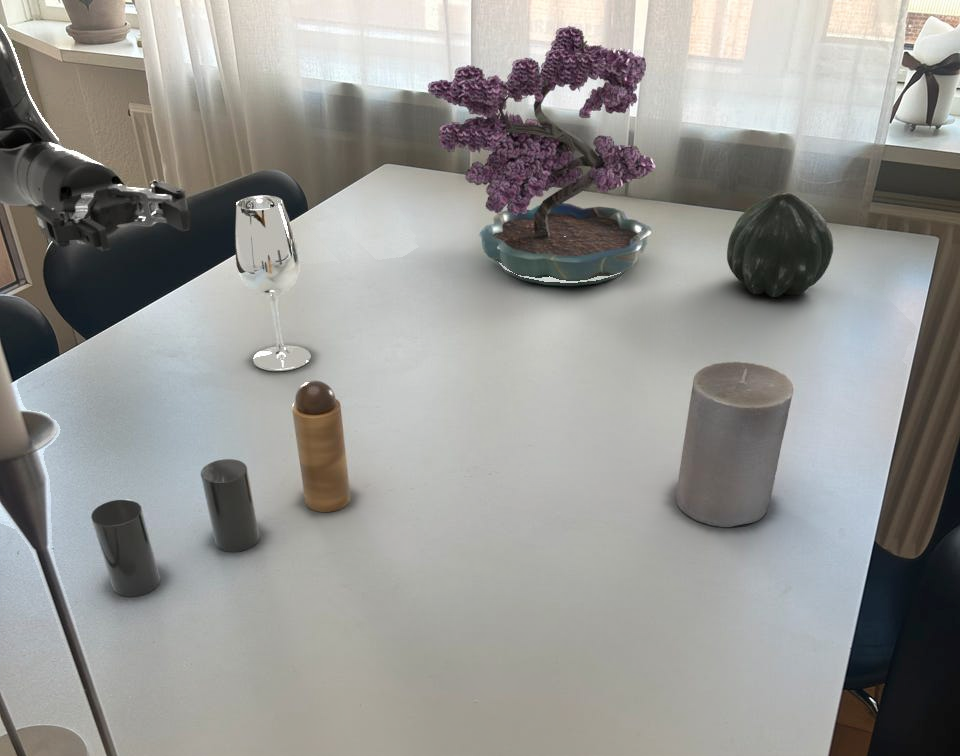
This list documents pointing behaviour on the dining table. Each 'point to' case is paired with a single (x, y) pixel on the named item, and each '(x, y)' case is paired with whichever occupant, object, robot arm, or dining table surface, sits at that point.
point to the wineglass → (268, 268)
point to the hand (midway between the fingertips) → (145, 230)
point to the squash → (780, 246)
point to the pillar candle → (732, 442)
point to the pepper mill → (321, 447)
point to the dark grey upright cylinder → (126, 547)
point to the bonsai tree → (551, 163)
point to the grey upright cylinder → (230, 505)
